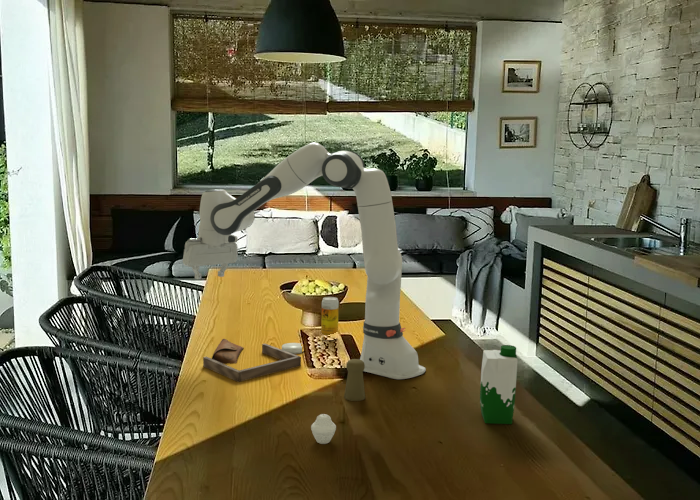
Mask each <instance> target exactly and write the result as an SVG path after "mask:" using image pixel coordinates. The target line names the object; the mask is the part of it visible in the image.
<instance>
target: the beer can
mask: <svg viewBox="0 0 700 500" xmlns="http://www.w3.org/2000/svg"><path fill="white" fill-rule="evenodd" d="M339 303H340V302H339V299H338V297H336V296H335V297H334V296H325V297H323V298H322V301H321V320H320V321H321V323H320V324H321V325H320V326H321V328H320V329H321V330H320V334H321V333H322V334H324V335H330V334H334V333H336V332H338V333H339V305H340V304H339Z"/></svg>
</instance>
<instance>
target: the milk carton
mask: <svg viewBox="0 0 700 500" xmlns="http://www.w3.org/2000/svg"><path fill="white" fill-rule="evenodd" d="M518 362H519V361H518V357H517V347H516V346H514V345H510V344H504V345H501V346H500V349H499V350H498V349H490V350H488V349H484V350H483V353H482V360H481V371H480V372H481V373H480V389H479V392H480V393H479V404H480V412H481V416H482V419H483V422H484V423H485V424H493V425H494V424H495V425H512V424H513V420H514V419H513V418H514V411H515V406H516V405H515V403H516V390H517V375H518V373H517V372H518Z"/></svg>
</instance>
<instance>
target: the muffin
mask: <svg viewBox="0 0 700 500" xmlns="http://www.w3.org/2000/svg"><path fill="white" fill-rule="evenodd" d="M310 429H311V432H312V435H313V437H314V439H315V440H316V442H317V443H319V444H321V445H326V444H328V443H330V442H331V440H332V439H333V437H334V435H335V432H336V430H337V425H336V424H335V423H334V422H333V421H332V418H331V416H330V415H328V414H327V413H326V414H325V413H321V414H319V415H317V416H316V419H315V421H314V422H313V423H312V424H311V425H310Z"/></svg>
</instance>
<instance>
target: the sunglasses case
mask: <svg viewBox="0 0 700 500" xmlns="http://www.w3.org/2000/svg"><path fill="white" fill-rule="evenodd" d="M243 350H244V347H243V346H241V345H238V344H236V343H234V342H231V341H229V340H227V338H222V339H221V341H220V342H219V344H218V345H217V347H216V348H215V350H214V352H213V353H212V357H211V359H213V360H216V361H218V362H220V363H223V364H225V365H228V364H227V363H230V364H237V363H238V359H239V357H240V354H241V352H242V351H243Z"/></svg>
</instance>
